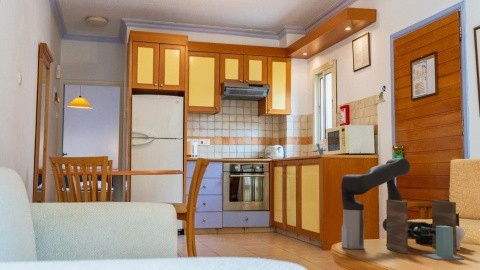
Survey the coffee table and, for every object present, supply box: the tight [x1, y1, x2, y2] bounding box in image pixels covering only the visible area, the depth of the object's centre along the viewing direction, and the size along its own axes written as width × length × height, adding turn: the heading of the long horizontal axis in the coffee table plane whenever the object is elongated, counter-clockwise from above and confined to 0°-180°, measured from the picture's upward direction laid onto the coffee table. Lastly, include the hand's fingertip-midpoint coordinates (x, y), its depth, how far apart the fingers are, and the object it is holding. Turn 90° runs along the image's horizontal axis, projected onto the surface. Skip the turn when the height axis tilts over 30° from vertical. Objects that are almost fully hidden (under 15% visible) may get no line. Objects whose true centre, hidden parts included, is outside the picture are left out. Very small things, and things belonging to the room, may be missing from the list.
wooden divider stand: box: [385, 199, 457, 255], centre depth 226 cm, size 24×16×22 cm, turn 101°
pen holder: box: [414, 221, 433, 245], centre depth 253 cm, size 9×9×10 cm
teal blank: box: [435, 226, 454, 257], centre depth 208 cm, size 4×5×12 cm
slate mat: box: [421, 253, 465, 261], centre depth 207 cm, size 12×11×1 cm
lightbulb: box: [456, 225, 465, 251], centre depth 229 cm, size 6×6×11 cm
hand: (430, 233), depth 217 cm, fingers open, 8 cm apart
